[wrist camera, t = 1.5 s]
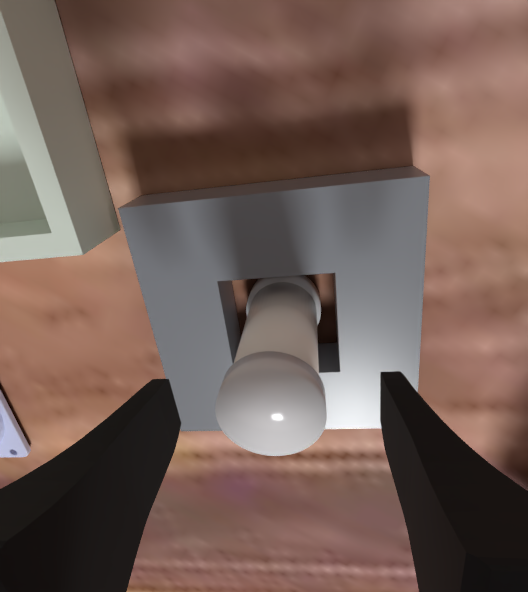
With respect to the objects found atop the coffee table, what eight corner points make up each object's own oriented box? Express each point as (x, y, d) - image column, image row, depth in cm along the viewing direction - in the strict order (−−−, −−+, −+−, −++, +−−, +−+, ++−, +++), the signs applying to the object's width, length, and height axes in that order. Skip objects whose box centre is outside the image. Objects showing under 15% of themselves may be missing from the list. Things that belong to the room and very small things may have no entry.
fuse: (254, 335, 21) (224, 456, 14) (244, 272, 19) (206, 372, 12) (322, 331, 20) (329, 455, 13) (318, 266, 19) (323, 367, 12)
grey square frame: (193, 399, 23) (181, 431, 21) (141, 195, 18) (117, 208, 16) (404, 394, 21) (415, 427, 19) (413, 165, 16) (429, 175, 14)
